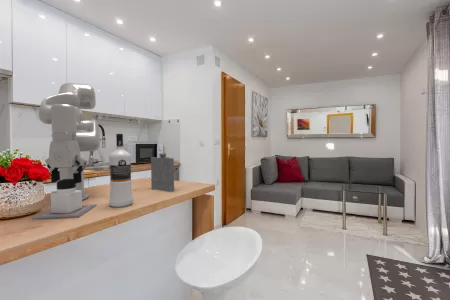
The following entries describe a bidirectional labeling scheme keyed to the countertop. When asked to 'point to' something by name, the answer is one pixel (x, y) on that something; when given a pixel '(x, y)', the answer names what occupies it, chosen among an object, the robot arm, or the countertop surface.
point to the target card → (64, 215)
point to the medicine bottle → (66, 197)
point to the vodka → (120, 176)
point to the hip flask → (162, 173)
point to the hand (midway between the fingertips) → (66, 182)
